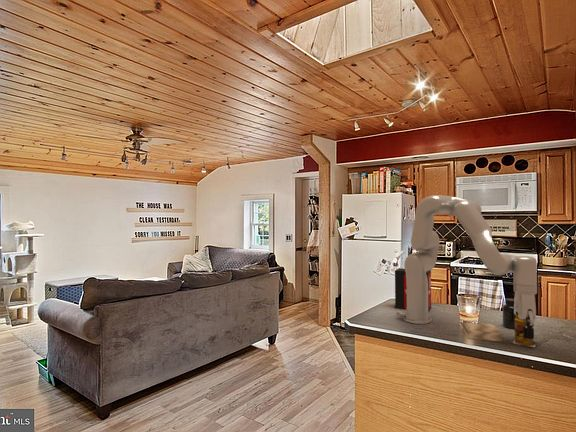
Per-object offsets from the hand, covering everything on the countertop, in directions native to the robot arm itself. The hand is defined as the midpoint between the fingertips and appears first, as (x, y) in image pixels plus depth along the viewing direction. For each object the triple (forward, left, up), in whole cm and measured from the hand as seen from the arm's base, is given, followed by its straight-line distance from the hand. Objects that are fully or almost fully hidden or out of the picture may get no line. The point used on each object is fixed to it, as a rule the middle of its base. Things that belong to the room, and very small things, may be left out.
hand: (525, 335), depth 141 cm
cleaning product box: (-39, +43, -3) cm, 58 cm away
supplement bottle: (+1, +21, -3) cm, 21 cm away
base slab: (-14, +6, -3) cm, 16 cm away
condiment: (0, +1, -3) cm, 3 cm away
